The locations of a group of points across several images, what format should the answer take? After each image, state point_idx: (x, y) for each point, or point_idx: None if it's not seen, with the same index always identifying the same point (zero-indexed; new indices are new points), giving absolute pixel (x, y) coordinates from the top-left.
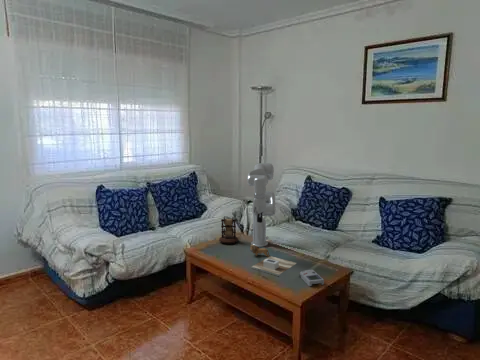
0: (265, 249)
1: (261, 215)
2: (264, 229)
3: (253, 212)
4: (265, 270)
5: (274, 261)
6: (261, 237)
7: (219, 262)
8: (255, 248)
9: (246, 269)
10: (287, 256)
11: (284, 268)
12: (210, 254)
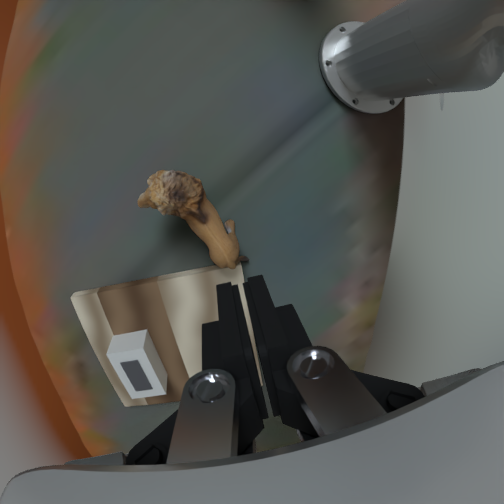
0: (220, 263)
1: (298, 432)
2: (433, 92)
3: (36, 482)
4: (100, 360)
5: (145, 388)
6: (378, 86)
7: (6, 129)
8: (171, 214)
9: (53, 281)
10: (319, 296)
11: (179, 391)
12: (47, 11)
